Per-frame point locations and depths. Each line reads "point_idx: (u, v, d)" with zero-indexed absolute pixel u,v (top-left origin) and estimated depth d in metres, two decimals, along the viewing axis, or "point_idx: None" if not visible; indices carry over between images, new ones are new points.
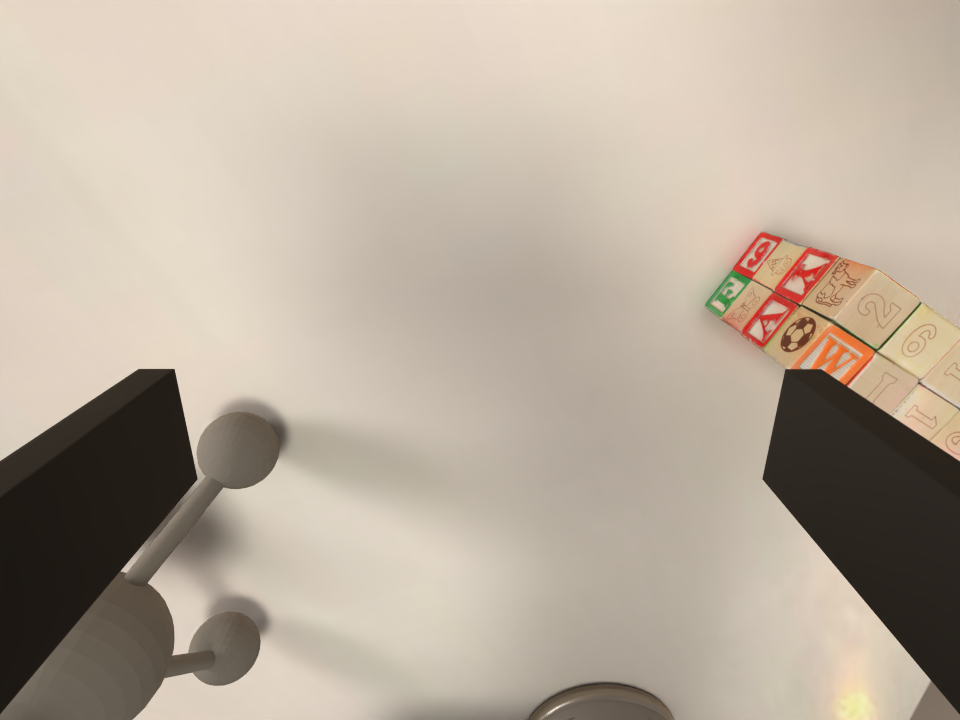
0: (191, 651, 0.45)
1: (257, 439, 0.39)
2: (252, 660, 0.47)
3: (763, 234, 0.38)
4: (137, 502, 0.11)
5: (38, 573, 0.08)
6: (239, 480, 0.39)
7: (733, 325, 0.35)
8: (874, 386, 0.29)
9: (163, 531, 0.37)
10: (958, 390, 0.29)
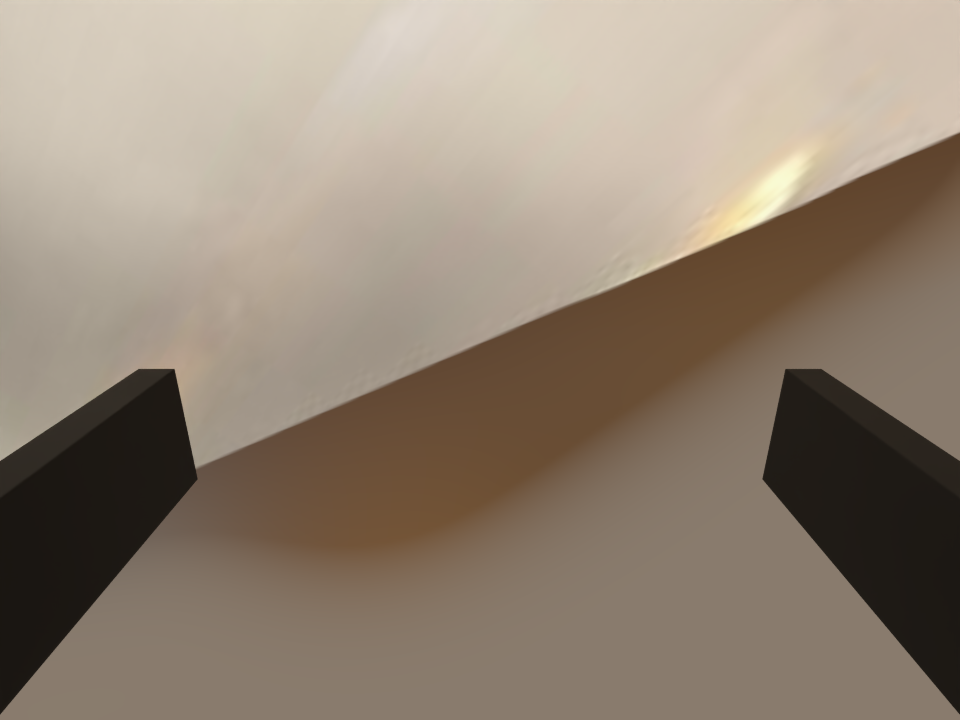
0: None
1: None
2: None
3: None
4: (137, 502, 0.11)
5: (38, 573, 0.08)
6: None
7: None
8: None
9: None
10: None
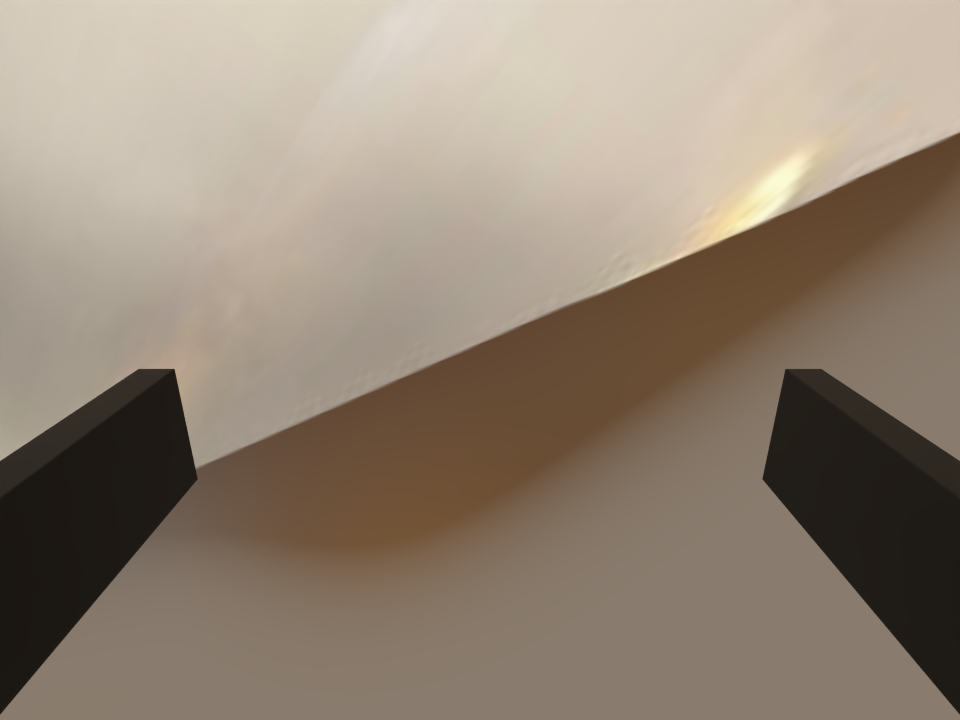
0: None
1: None
2: None
3: None
4: (137, 502, 0.11)
5: (38, 573, 0.08)
6: None
7: None
8: None
9: None
10: None
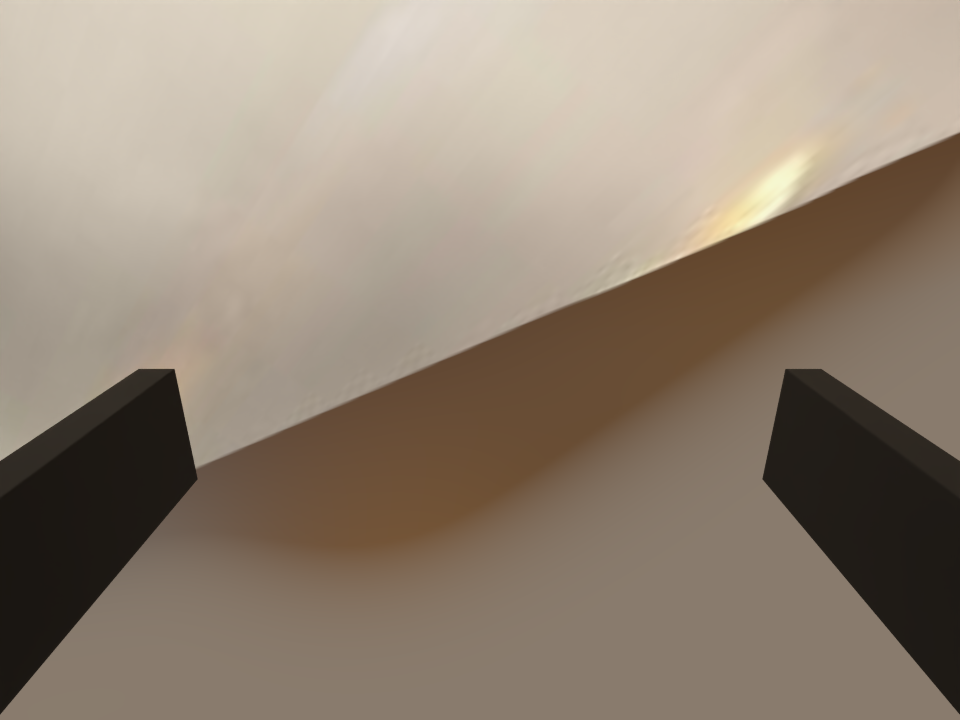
0: None
1: None
2: None
3: None
4: (137, 502, 0.11)
5: (38, 573, 0.08)
6: None
7: None
8: None
9: None
10: None
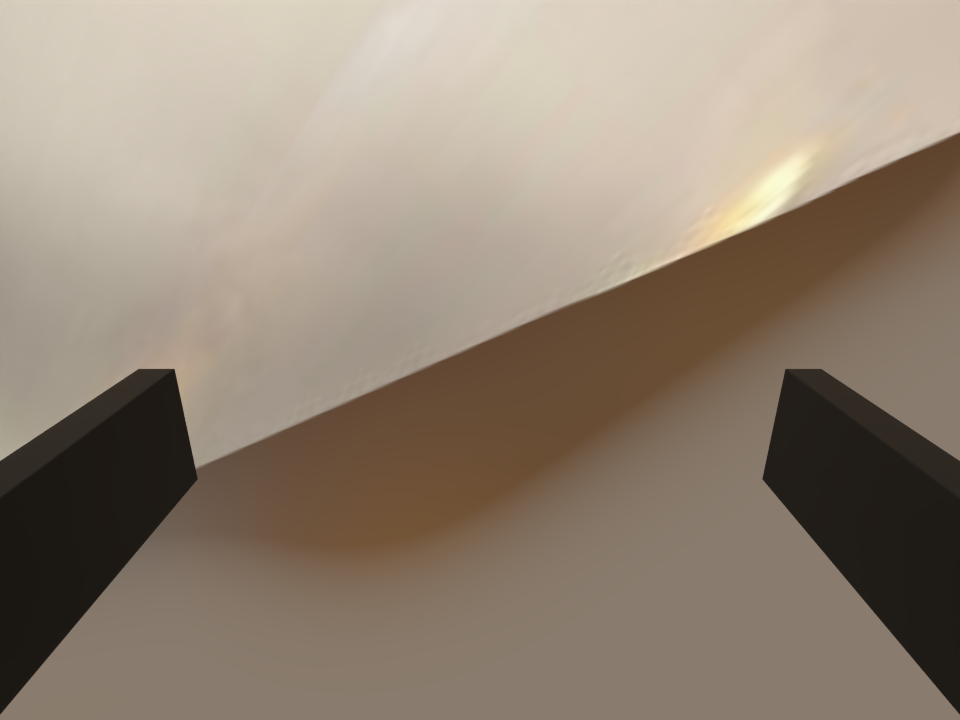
0: None
1: None
2: None
3: None
4: (137, 502, 0.11)
5: (38, 573, 0.08)
6: None
7: None
8: None
9: None
10: None
